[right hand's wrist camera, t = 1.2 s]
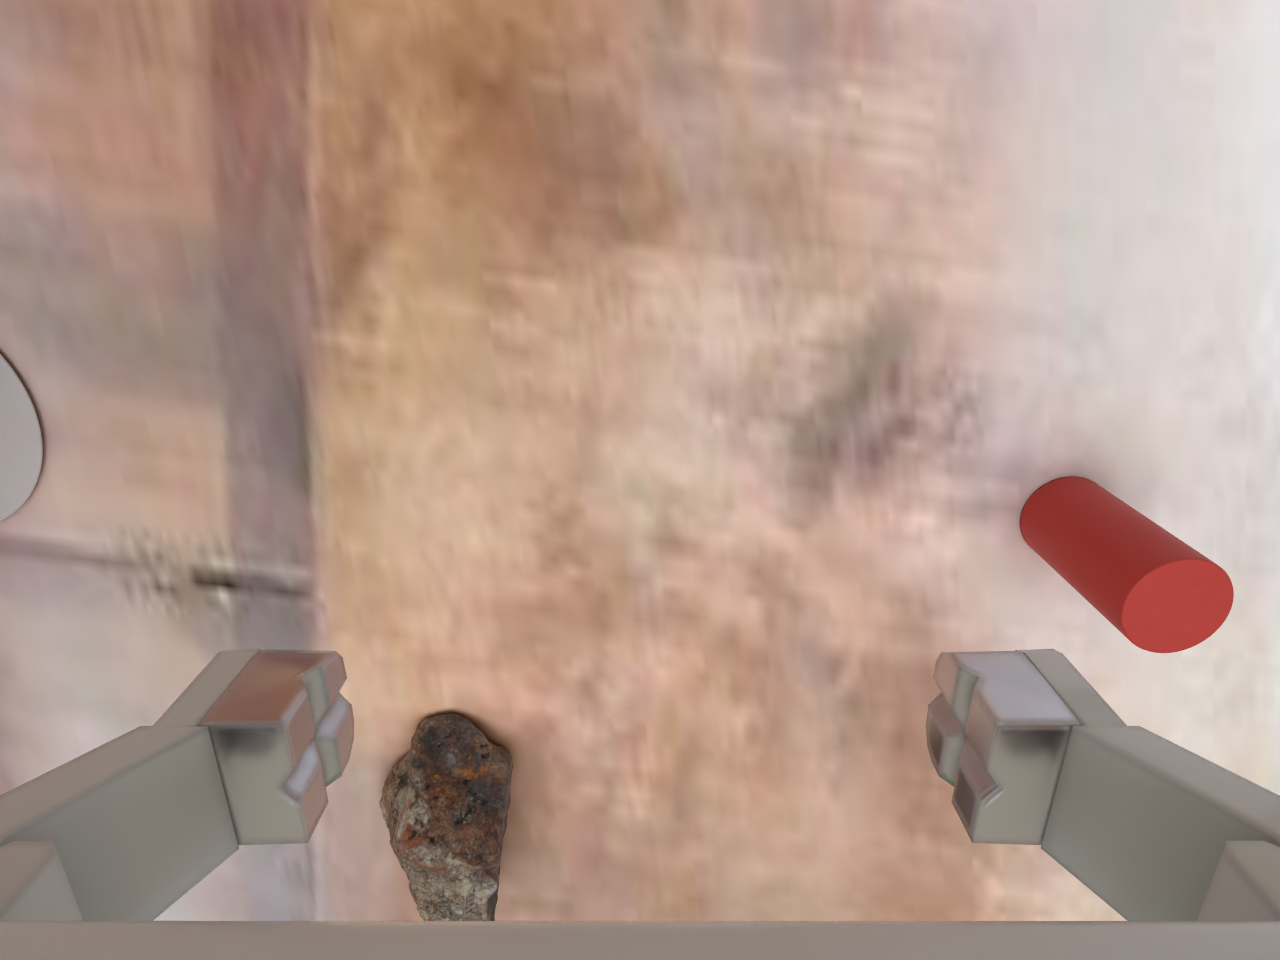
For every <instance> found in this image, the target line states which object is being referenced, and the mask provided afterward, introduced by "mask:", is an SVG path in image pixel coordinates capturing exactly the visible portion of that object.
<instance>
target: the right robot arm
mask: <svg viewBox="0 0 1280 960" xmlns="http://www.w3.org/2000/svg"><path fill="white" fill-rule="evenodd" d="M42 456H43V446H42V436H41V430H40V425H39V421H38V418H37V415H36V412H35V409H34V406H33V404H32V402H31V399H30V397H29V395H28V393H27V391H26V389H25V387H24V386H23V384H22V382H21V381H20V379H19V378H18V376H17V375H16V373H15V372H14V370H13V369H12V368H11V366H10V365H9V364H8V362H7V361H6V360H5V359H4V358H3V356H2V355H1V354H0V522H1V521H2V520H4V519H6V518H8V517H9V516H11V515H12V514H13V513H15V512H16V511H17V510H18V509H19V508H20V507H21V506H22V505H23V504H24V503H25V502H26V501H27V499H28V498H29V496H30V495H31V493H32V492H33V490H34V488H35V486H36V483H37V481H38V478H39V475H40V471H41V466H42ZM346 678H347V676H346V671H345V667H344V662H343V657H342V656H341V655H340V654H338V653H337V652H336V651H305V650H259V649H248V650H226V651H222V652H219V653H218V654H217V655H216V656H215V657H214V658H213V659H212V660H211V662H210V663H209V664H208V665H207V666H206V667H205V668H204V669H203V670H202V672H201V673H200V674H199V675H198V676H197V677H196V678H195V679H194V681H193V682H192V683H191V684H190V685H189V686H188V687H187V688H186V689H185V691H184V692H183V693H182V694H181V695H180V696H179V697H178V698H177V699H176V701H175V702H174V703H173V704H172V705H171V706H170V707H169V708H168V710H167V711H166V712H165V713H164V714H163V715H162V716H161V717H160V718H159V720H158V721H157V722H156V723H155V724H154V725H153V726H140V727H138V728H136V729H134V730H132V731H130V732H128V733H126V734H124V735H122V736H120V737H118V738H116V739H114V740H112V741H110V742H108V743H106V744H104V745H102V746H100V747H98V748H96V749H94V750H92V751H90V752H87V753H85V754H83V755H81V756H79V757H77V758H75V759H73V760H71V761H69V762H67V763H65V764H63V765H61V766H59V767H57V768H55V769H53V770H51V771H49V772H47V773H45V774H43V775H41V776H39V777H37V778H35V779H33V780H31V781H29V782H27V783H25V784H23V785H21V786H19V787H17V788H15V789H13V790H11V791H9V792H7V793H5V794H3V795H1V796H0V960H1280V796H1279V795H1277V794H1275V793H1273V792H1271V791H1269V790H1267V789H1265V788H1263V787H1261V786H1259V785H1257V784H1255V783H1253V782H1251V781H1249V780H1247V779H1245V778H1243V777H1241V776H1239V775H1237V774H1235V773H1233V772H1231V771H1229V770H1227V769H1225V768H1223V767H1220V766H1218V765H1216V764H1214V763H1212V762H1210V761H1208V760H1206V759H1204V758H1202V757H1200V756H1198V755H1196V754H1194V753H1192V752H1190V751H1188V750H1186V749H1184V748H1182V747H1180V746H1178V745H1176V744H1174V743H1172V742H1170V741H1168V740H1166V739H1164V738H1162V737H1160V736H1158V735H1156V734H1154V733H1152V732H1150V731H1148V730H1146V729H1144V728H1142V727H1140V726H1127V725H1126V724H1125V723H1124V722H1123V721H1122V720H1121V718H1120V717H1119V716H1118V715H1117V714H1116V713H1115V712H1114V711H1113V710H1112V708H1111V707H1110V706H1109V705H1108V704H1107V703H1106V702H1105V701H1104V699H1103V698H1102V697H1101V696H1100V695H1099V694H1098V693H1097V692H1096V691H1095V689H1094V688H1093V687H1092V686H1091V685H1090V684H1089V683H1088V682H1087V681H1086V679H1085V678H1084V677H1083V676H1082V675H1081V674H1080V673H1079V672H1078V670H1077V669H1076V668H1075V667H1074V666H1073V665H1072V664H1071V663H1070V662H1069V660H1068V659H1067V658H1066V657H1065V656H1064V655H1063V654H1062V653H1060V652H1058V651H1056V650H1054V649H1037V650H1015V651H982V652H941V653H940V655H939V657H938V659H937V661H936V665H935V670H934V676H933V678H934V680H935V682H936V684H937V685H938V687H939V689H940V691H941V693H940V694H939V695H938V696H937V697H936V698H935V699H934V700H933V701H932V702H931V703H930V704H929V705H928V712H927V720H926V735H927V746H928V750H929V753H930V757H931V760H932V763H933V765H934V767H935V769H936V771H937V773H938V776H939V777H941V778H942V779H944V780H945V781H947V782H948V783H949V784H951V785H952V786H954V792H953V798H952V804H953V806H954V808H955V809H956V811H957V813H958V815H959V817H960V819H961V821H962V823H963V825H964V827H965V829H966V831H967V833H968V835H969V837H970V839H971V841H972V843H989V844H1025V845H1042V846H1041V849H1043V850H1044V851H1045V852H1046V853H1047V854H1049V855H1050V856H1051V857H1052V858H1053V859H1055V860H1056V861H1057V862H1058V863H1059V864H1060V865H1062V866H1063V867H1064V868H1065V869H1066V870H1068V871H1069V872H1070V873H1071V874H1072V875H1074V876H1075V877H1076V878H1077V879H1078V880H1080V881H1081V882H1082V883H1083V884H1084V885H1086V886H1087V887H1088V888H1089V889H1090V890H1092V891H1093V892H1094V893H1095V894H1096V895H1098V896H1099V897H1100V898H1101V899H1102V900H1103V901H1105V902H1106V903H1107V904H1108V905H1109V906H1111V907H1112V908H1113V909H1114V910H1115V911H1117V912H1118V913H1119V914H1120V915H1121V916H1123V917H1124V918H1125V919H1126V920H1127V921H153V920H154V919H155V918H156V917H158V916H159V915H160V914H161V913H162V912H164V911H165V910H166V909H167V908H168V907H170V906H171V905H172V904H173V903H174V902H176V901H177V900H178V899H179V898H180V897H182V896H183V895H184V894H185V893H186V892H188V891H189V890H190V889H191V888H192V887H194V886H195V885H196V884H197V883H198V882H200V881H201V880H202V879H203V878H204V877H205V876H207V875H208V874H209V873H210V872H211V871H213V870H214V869H215V868H216V867H217V866H219V865H220V864H221V863H222V862H223V861H225V860H226V859H227V858H228V857H229V856H231V855H232V854H233V853H234V852H235V851H237V850H238V849H239V846H238V845H255V844H289V843H308V841H309V839H310V837H311V835H312V833H313V831H314V829H315V827H316V825H317V823H318V821H319V819H320V817H321V815H322V813H323V811H324V810H325V808H326V806H327V804H328V798H327V792H326V786H328V785H329V784H331V783H332V782H333V781H335V780H336V779H338V778H339V777H341V776H342V773H343V771H344V769H345V767H346V765H347V763H348V761H349V757H350V753H351V748H352V744H353V739H354V718H353V711H352V705H351V704H350V703H349V702H348V701H347V700H346V699H345V698H344V697H343V696H342V695H341V694H340V693H339V691H340V689H341V687H342V685H343V684H344V682H345V680H346Z"/></svg>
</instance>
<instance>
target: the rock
mask: <svg viewBox="0 0 1280 960" xmlns="http://www.w3.org/2000/svg"><path fill="white" fill-rule="evenodd" d="M512 769H513V764H512V759H511V756H510V755H509V753H508V752H507V750H505V749H504V748H503V747H501V746H497V745H495V744H493V743H491V742H489V741H488V740H487V738H486V737H485V735H484V734H483V732H481V731H480V730H479V729H477V728H476V727H475V726H474V725H473V724H472V722H471V721H470V720H468V719H467V718H465V717H462V716H460V715H457V714H454V713H453V714H443V715H437V716H435V717H430V718H426V719H425V720H423V721H422V722H421V723H420V724H418V727H417V730H416V733H415V734H414V736H413V737H412V741H411V749H410V751H409V753H408V754H407V755H406V756H405V757H404V758H403V759H402V760H401V762H398V763H396V764H395V765H394V766H393V767H392V771H391V772H390V773H389V775H388V777H387V779H386V781H385V785H384V788H383V794H382V798H381V801H380V808H381V810H382V813H383V818H384V819H385V821H386V824H387V827H388V829H389V832H390V838H391V840H390V845H391V847H392V848H393V851H394V853H395V855H396V856H397V858H398V860H399V863H400V864H401V867H402V869H403V870H404V871H405V872H406V874H407V877H408V880H409V881H410V883H409V888H410V891H411V894H412V896H413V898H414V901H415V902H416V904H417V910H418V911H419V913H420V916H421V917H422V918H423V920H425V921H495V920H494V915H495V907H496V903H497V899H498V896H497V893H498V886H499V875H500V858H501V851H502V842H503V837H504V834H505V831H506V827H507V812H508V808H509V804H510V790H509V788H510V783H511V773H512Z"/></svg>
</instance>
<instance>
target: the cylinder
mask: <svg viewBox="0 0 1280 960" xmlns="http://www.w3.org/2000/svg"><path fill="white" fill-rule="evenodd" d="M1020 528H1021V533H1022V536H1023V538H1024V540H1025V541H1026V543H1027V544H1028V545H1029V546H1030V547H1031V548H1032V549H1033V550H1034V551H1035V552H1036V553H1038V554H1039V555H1040V556H1041V557H1042V558H1043V559H1044V560H1045V561H1046V562H1047V563H1048V564H1049V565H1050V566H1051V567H1052V568H1053V569H1054V570H1056V571H1057V572H1058V573H1059V574H1060V575H1061V576H1062V577H1063V578H1064V579H1065V580H1066V581H1067V582H1068V583H1069V584H1070V585H1071V586H1072V587H1074V588H1075V589H1076V590H1077V591H1078V592H1079V593H1080V594H1081V595H1082V596H1083V597H1084V598H1085V599H1086V600H1087V601H1088V602H1089V603H1091V604H1092V605H1093V606H1094V607H1095V608H1096V609H1097V610H1098V611H1099V612H1100V613H1101V614H1102V615H1103V616H1104V617H1105V618H1106V619H1107V620H1109V621H1110V622H1111V623H1112V624H1113V625H1114V626H1115V627H1116V628H1117V629H1118V630H1119V631H1120V632H1121V633H1122V634H1123V635H1124V636H1125V637H1127V638H1128V639H1129V640H1130V641H1131V642H1132V643H1133V644H1134V645H1136V646H1137V647H1139V648H1142V649H1144V650H1147V651H1150V652H1156V653H1171V652H1178V651H1181V650H1185V649H1188V648H1191V647H1193V646H1195V645H1197V644H1199V643H1201V642H1202V641H1204V640H1205V639H1207V638H1208V637H1210V636H1211V635H1212V634H1213V633H1214V632H1215V631H1216V630H1217V629H1218V628H1219V627H1220V626H1221V625H1222V624H1223V622H1224V621H1225V619H1226V618H1227V616H1228V614H1229V612H1230V609H1231V607H1232V603H1233V596H1234V595H1233V586H1232V583H1231V580H1230V578H1229V576H1228V575H1227V573H1226V572H1225V571H1224V570H1223V569H1222V568H1221V567H1219V566H1218V565H1217V564H1215V563H1214V562H1212V561H1211V560H1209V559H1208V558H1206V557H1205V556H1203V555H1202V554H1200V553H1199V552H1197V551H1196V550H1194V549H1193V548H1191V547H1190V546H1188V545H1187V544H1185V543H1184V542H1182V541H1181V540H1179V539H1178V538H1176V537H1175V536H1173V535H1172V534H1170V533H1169V532H1167V531H1166V530H1165V529H1163V528H1162V527H1160V526H1159V525H1157V524H1156V523H1154V522H1153V521H1151V520H1150V519H1148V518H1147V517H1145V516H1144V515H1142V514H1141V513H1139V512H1138V511H1136V510H1135V509H1133V508H1132V507H1130V506H1129V505H1127V504H1126V503H1124V502H1123V501H1121V500H1120V499H1118V498H1117V497H1115V496H1114V495H1112V494H1111V493H1109V492H1108V491H1106V490H1105V489H1103V488H1102V487H1100V486H1099V485H1097V484H1096V483H1094V482H1092V481H1091V480H1088V479H1085V478H1081V477H1064V478H1060V479H1056V480H1053V481H1051V482H1049V483H1047V484H1045V485H1044V486H1042V487H1041V488H1039V489H1038V490H1037V491H1036V492H1035V493H1034V494H1033V495H1032V496H1031V497H1030V498H1029V500H1028V501H1027V503H1026V504H1025V506H1024V508H1023V511H1022V514H1021V519H1020Z"/></svg>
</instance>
